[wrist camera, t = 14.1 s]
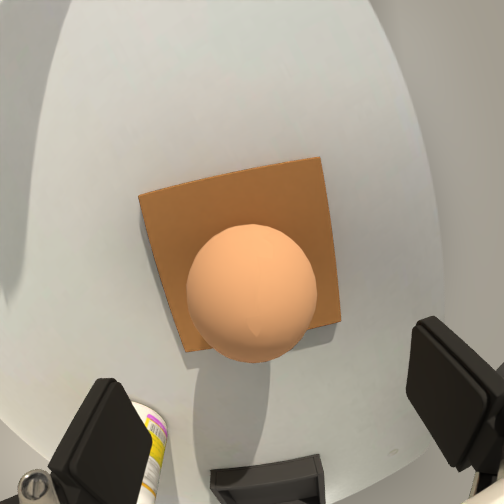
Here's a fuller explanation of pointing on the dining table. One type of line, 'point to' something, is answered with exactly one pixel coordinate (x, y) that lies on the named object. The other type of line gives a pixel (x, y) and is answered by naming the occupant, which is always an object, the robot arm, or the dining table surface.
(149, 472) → the supplement bottle
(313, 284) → the egg
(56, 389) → the dining table surface
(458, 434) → the robot arm
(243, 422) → the dining table surface
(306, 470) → the tray
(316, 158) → the plate
